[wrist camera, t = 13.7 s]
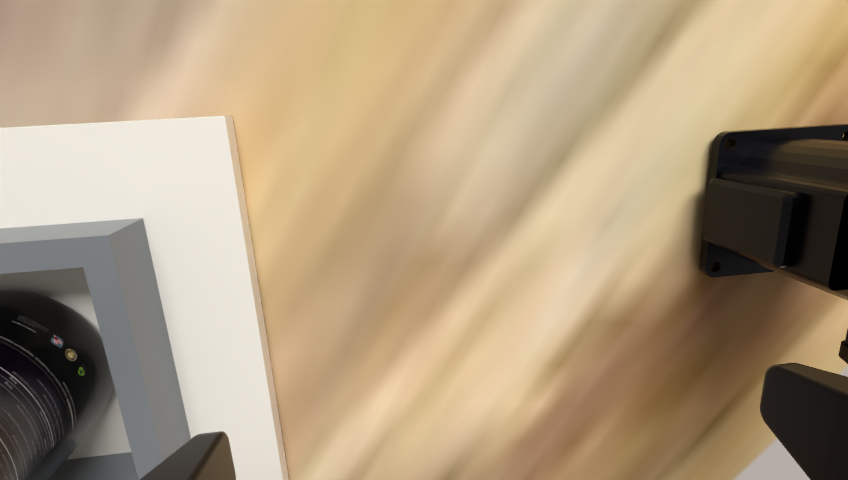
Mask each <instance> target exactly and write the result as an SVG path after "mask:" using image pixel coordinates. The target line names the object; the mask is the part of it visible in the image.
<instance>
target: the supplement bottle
mask: <svg viewBox="0 0 848 480" xmlns="http://www.w3.org/2000/svg"><path fill="white" fill-rule="evenodd" d="M113 388H114V383H113V379H112V376H111V372H110V368H109V364H108V360H107V356H106V353H105V349H104V345H103V341H102V337H101V335H100V333H99V332H98V331H97V330H96V329H95V327H94V326H93V325H92V324H91V323H90V322H89V321H88V320H87V319H85V318H84V317H83V316H82V315H81V314H79V313H78V312H76V311H75V310H74V309H72V308H70V307H68V306H67V305H65V304H63V303H61V302H59V301H57V300H54V299H51V298H49V297H46V296H43V295H39V294H35V293H30V292H24V291H17V290H0V480H50V479H51V478H52V477H53V475H54V474H55V473H56V472H57V471H58V469H59V468H60V467H61V466H62V464H63V463H64V462H65V461H66V460H67V458H68V457H69V456H70V455H71V454H72V452H73V451H74V450H75V449H76V447H77V446H78V445H79V444H80V443H81V441H82V440H83V439H84V438H85V436H86V435H87V434H88V433H89V431H90V430H91V429H92V427H93V426H94V425H95V424H96V422H97V421H98V420H99V419H100V417H101V416H102V414H103V413H104V411H105V409H106V408H107V406H108V404H109V402H110V399H111V396H112V392H113Z"/></svg>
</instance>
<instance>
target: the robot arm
mask: <svg viewBox="0 0 848 480" xmlns="http://www.w3.org/2000/svg"><path fill="white" fill-rule="evenodd" d="M843 134H844V137H843V139H842V136H843ZM728 139H729V145H728V147H727V148H725V143H726V141H727V140H728ZM713 262H715V264H714V267H713V268H711V269H710V267H711V264H712V263H713ZM699 266H700V270H701V272H702V273H704V274H706V275H708V276H710V277H721V276H732V275H742V274H753V273H763V272H773V271H776V272H778V273H781V274H783V275H786V276H788V277H791V278H793V279H796V280H798V281H801V282H803V283H806V284H808V285H811V286H813V287H816V288H818V289H821V290H823V291H826V292H828V293H831V294H833V295H836V296H838V297H841V298H843V299H846V300H848V124H835V125H819V126H804V127H788V128H772V129H756V130H740V131H725V132H721V133H720V134H718V135H717V136H716V138H715V139H714V142H713V148H712V157H711V166H710V175H709V184H708V190H707V199H706V208H705V217H704V226H703V238H702V247H701V256H700V265H699ZM839 357H841V358H842V359H843V360H844V361H845V362H846V363H847V364H848V330H847V334H846V339H845V340H844V341H842V342H841V346H840V351H839ZM760 412H761V415H762V418H763V420H764V422H765V423H766V424H767V426H768V427H769V428H770V429H771V431H772V432H773V433H774V434H775V436H776V437H777V438H778V439H779V441H780V442H781V443H782V444H783V446H784V447H785V448H786V449H787V451H788V452H789V453H790V454H791V456H792V457H793V458H794V459H795V461H796V462H797V463H798V464H799V466H800V467H801V468H802V470H803V471H804V472H805V473H806V475H807V476H808V477H809V478H810V480H848V377H846V376H842V375H838V374H835V373H831V372H827V371H824V370H820V369H816V368H813V367H809V366H805V365H801V364H797V363H787V364H779V365H773V366H771V367H769V368H768V369H767V371H766V373H765V378H764V384H763V390H762V397H761V403H760ZM140 480H236V474H235V468H234V463H233V458H232V453H231V448H230V443H229V438H228V436H227V434H226V433H225V432H223V431H219V432H210V433H202V434H198V435H196V436H194V437H193V438H191V439H190V440H189V441H188V442H186V443H185V444H184V445H183V446H181V447H180V448H179V449H178V450H176V451H175V452H174V453H172V454H171V455H170V456H169V457H167V458H166V459H165V460H164V461H162V462H161V463H160V464H159V465H157V466H156V467H155V468H153V469H152V470H151V471H150V472H148V473H147V474H146V475H145V476H143V477H142V478H141V479H140Z"/></svg>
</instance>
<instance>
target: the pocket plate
mask: <svg viewBox="0 0 848 480" xmlns="http://www.w3.org/2000/svg"><path fill="white" fill-rule="evenodd" d="M0 290H17V291H24V292H30V293H35V294H39V295H43V296H46V297H49V298H51V299H54V300H57V301H59V302H61V303H63V304H65V305H67V306H68V307H70V308H72V309H74V310H75V311H76V312H78V313H79V314H81V315H82V316H83V317H84V318H85V319H87V320H88V321H89V322H90V323H91V324H92V325H93V326H94V327H95V329H96V330H97V331H98V332H99V333H100V335H101V337H102V341H103V345H104V349H105V353H106V356H107V360H108V364H109V368H110V372H111V376H112V379H113V383H114V388H113V392H112V396H111V399H110V402H109V404H108V406H107V408H106V409H105V411H104V413H103V414H102V416H101V417H100V419H99V420H98V421H97V422H96V424H95V425H94V426H93V427H92V429H91V430H90V431H89V433H88V434H87V435H86V436H85V438H84V439H83V440H82V441H81V443H80V444H79V445H78V446H77V447H76V449H75V450H74V451H73V452H72V454H71V455H70V456H69V457H68V458H67V460H66V461H65V462H64V463H63V464H62V466H61V467H60V468H59V469H58V471H57V472H56V473H55V474H54V475H53V477H52V478H51V479H50V480H140V479H141V478H142V477H143V476H145V475H146V474H147V473H148V472H150V471H151V470H152V469H153V468H155V467H156V466H157V465H159V464H160V463H161V462H162V461H164V460H165V459H166V458H167V457H169V456H170V455H171V454H172V453H174V452H175V451H176V450H178V449H179V448H180V447H181V446H183V445H184V444H185V443H186V442H188V441H189V440H190V439H191V438H193V437H194V436H196V435H198V434H202V433H210V432H219V431H223V432H225V433H226V434H227V436H228V438H229V443H230V448H231V453H232V458H233V463H234V468H235V474H236V480H289V478H288V471H287V465H286V458H285V452H284V446H283V439H282V433H281V426H280V420H279V413H278V407H277V401H276V394H275V388H274V381H273V375H272V369H271V362H270V356H269V349H268V343H267V336H266V330H265V324H264V317H263V311H262V304H261V298H260V292H259V285H258V279H257V272H256V266H255V259H254V253H253V247H252V240H251V234H250V227H249V221H248V215H247V208H246V202H245V195H244V189H243V182H242V176H241V170H240V163H239V157H238V150H237V144H236V138H235V131H234V125H233V118H232V115H230V116H212V117H193V118H174V119H156V120H137V121H118V122H100V123H81V124H63V125H44V126H25V127H7V128H0Z"/></svg>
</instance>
